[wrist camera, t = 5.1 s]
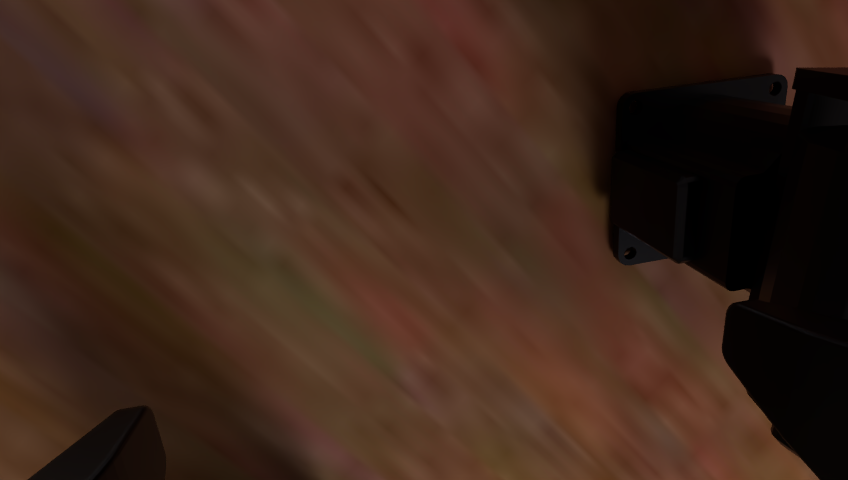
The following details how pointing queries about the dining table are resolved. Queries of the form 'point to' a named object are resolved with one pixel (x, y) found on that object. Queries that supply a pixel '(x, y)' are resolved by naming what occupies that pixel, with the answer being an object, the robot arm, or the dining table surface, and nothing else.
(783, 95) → the robot arm
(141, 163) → the dining table surface
